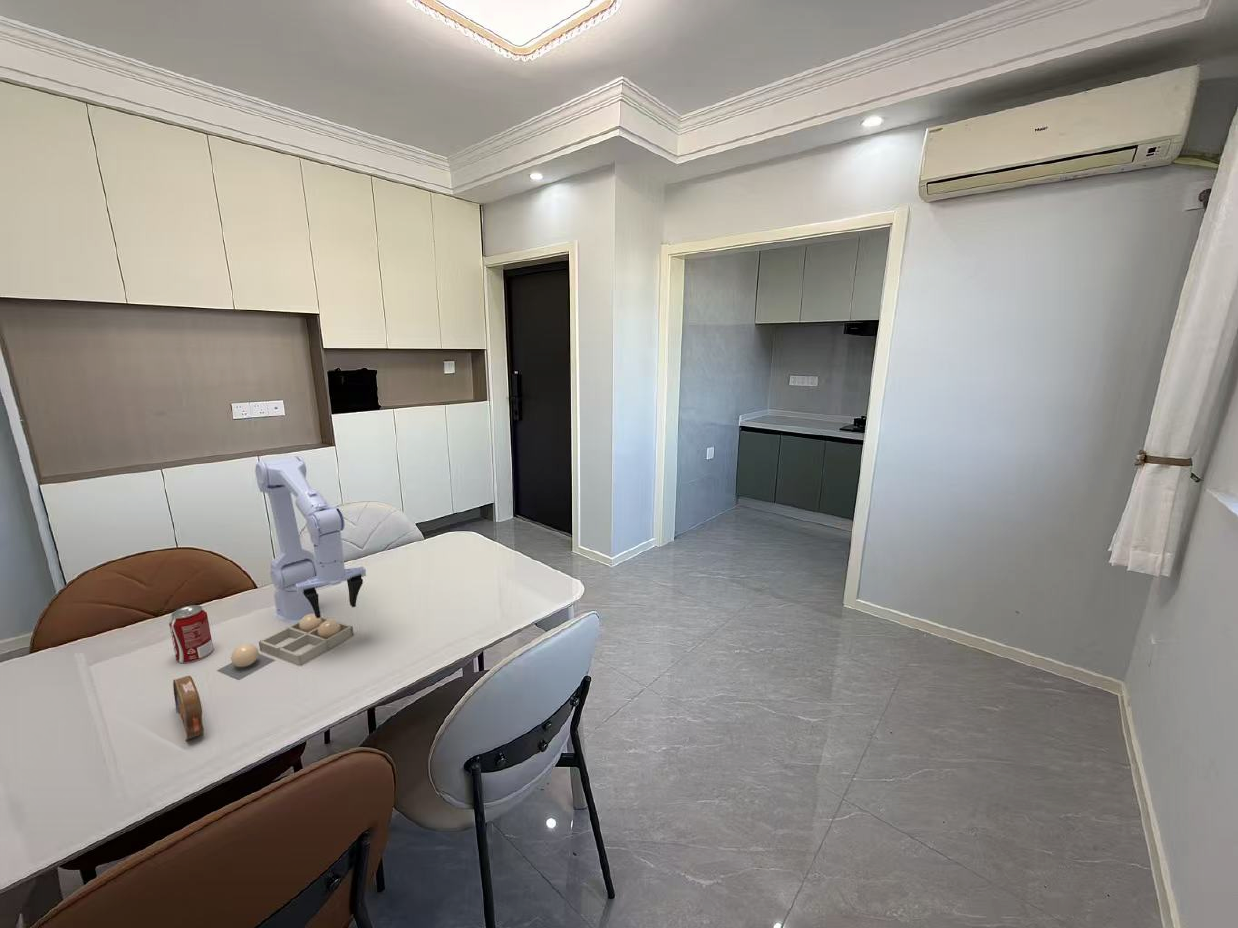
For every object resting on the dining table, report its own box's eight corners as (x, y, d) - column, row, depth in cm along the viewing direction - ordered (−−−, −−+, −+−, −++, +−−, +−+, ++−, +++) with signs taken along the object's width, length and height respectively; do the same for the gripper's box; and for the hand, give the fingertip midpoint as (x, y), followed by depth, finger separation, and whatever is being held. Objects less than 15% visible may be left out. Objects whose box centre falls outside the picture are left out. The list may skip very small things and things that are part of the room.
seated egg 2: (314, 641, 124) (311, 623, 123) (332, 631, 129) (330, 614, 128) (328, 646, 122) (325, 628, 121) (346, 636, 127) (344, 618, 126)
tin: (175, 709, 101) (167, 673, 99) (195, 702, 103) (188, 666, 102) (187, 750, 91) (179, 710, 89) (209, 740, 94) (202, 701, 92)
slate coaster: (216, 672, 113) (216, 670, 113) (254, 653, 120) (253, 651, 120) (239, 682, 110) (238, 680, 109) (275, 662, 117) (275, 660, 117)
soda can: (220, 652, 120) (212, 606, 118) (189, 668, 114) (180, 621, 111) (201, 646, 122) (193, 601, 120) (169, 662, 116) (160, 615, 113)
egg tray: (260, 652, 120) (258, 641, 120) (315, 624, 133) (314, 613, 132) (300, 668, 115) (298, 656, 114) (353, 636, 128) (352, 626, 127)
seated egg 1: (295, 635, 127) (293, 617, 126) (314, 625, 131) (312, 608, 130) (309, 639, 125) (306, 621, 124) (327, 630, 130) (325, 612, 128)
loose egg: (227, 668, 113) (224, 648, 112) (251, 656, 118) (248, 637, 117) (241, 674, 111) (238, 654, 110) (264, 661, 116) (261, 642, 115)
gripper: (298, 573, 110) (305, 628, 113) (367, 555, 120) (372, 607, 123) (290, 563, 115) (298, 616, 118) (358, 547, 125) (363, 596, 128)
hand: (335, 611), depth 121 cm, fingers open, 7 cm apart
